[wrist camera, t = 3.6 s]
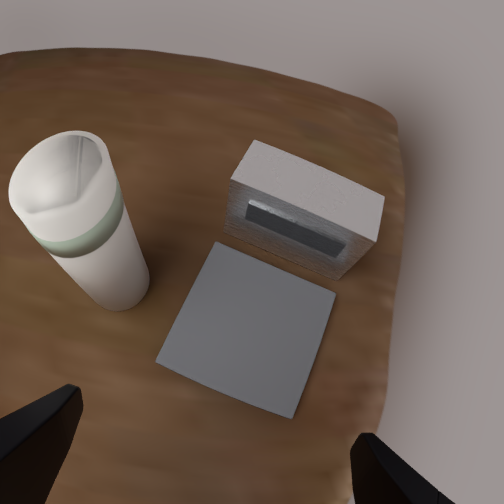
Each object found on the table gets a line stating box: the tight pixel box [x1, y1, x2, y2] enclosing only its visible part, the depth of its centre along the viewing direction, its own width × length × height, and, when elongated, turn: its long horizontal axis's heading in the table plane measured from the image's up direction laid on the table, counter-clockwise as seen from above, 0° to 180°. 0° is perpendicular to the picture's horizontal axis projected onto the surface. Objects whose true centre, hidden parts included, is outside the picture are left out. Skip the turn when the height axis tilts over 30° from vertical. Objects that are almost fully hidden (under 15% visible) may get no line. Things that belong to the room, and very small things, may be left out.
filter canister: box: [9, 131, 150, 311], centre depth 17 cm, size 5×5×13 cm
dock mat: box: [155, 242, 336, 419], centre depth 23 cm, size 10×10×1 cm
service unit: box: [223, 140, 385, 281], centre depth 24 cm, size 4×10×7 cm, turn 68°
